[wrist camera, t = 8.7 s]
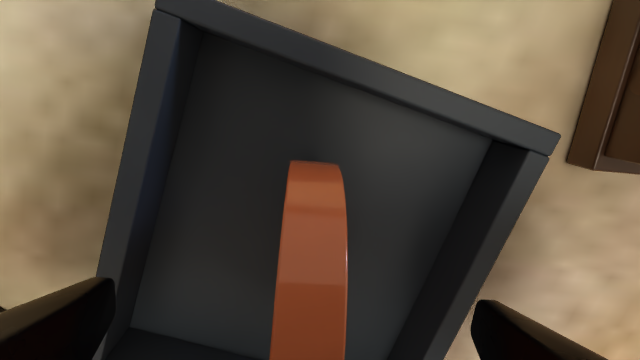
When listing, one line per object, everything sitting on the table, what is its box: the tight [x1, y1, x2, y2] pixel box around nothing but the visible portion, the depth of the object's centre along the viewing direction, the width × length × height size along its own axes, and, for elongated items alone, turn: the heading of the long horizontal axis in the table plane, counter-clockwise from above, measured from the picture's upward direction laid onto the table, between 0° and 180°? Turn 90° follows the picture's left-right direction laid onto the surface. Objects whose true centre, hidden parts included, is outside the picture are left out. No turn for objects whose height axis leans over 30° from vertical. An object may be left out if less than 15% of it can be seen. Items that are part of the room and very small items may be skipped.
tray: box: [92, 0, 561, 360], centre depth 11 cm, size 12×11×2 cm
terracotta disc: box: [269, 159, 348, 360], centre depth 9 cm, size 7×1×7 cm, turn 174°
